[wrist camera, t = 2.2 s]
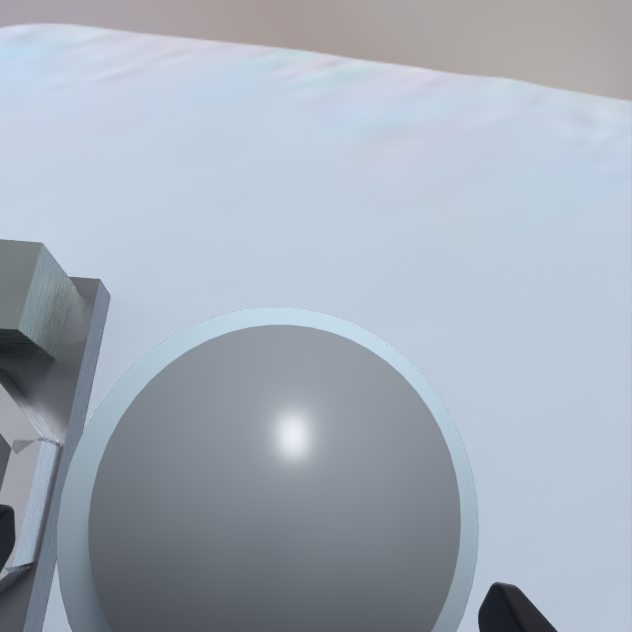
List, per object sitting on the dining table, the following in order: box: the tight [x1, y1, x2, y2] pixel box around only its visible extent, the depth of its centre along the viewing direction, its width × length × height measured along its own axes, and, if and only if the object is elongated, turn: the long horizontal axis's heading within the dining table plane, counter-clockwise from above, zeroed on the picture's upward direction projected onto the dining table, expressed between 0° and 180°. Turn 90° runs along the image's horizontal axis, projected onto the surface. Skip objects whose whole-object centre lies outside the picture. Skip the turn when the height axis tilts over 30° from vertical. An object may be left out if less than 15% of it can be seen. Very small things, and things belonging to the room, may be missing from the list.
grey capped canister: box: [57, 307, 479, 632], centre depth 11 cm, size 5×5×13 cm
